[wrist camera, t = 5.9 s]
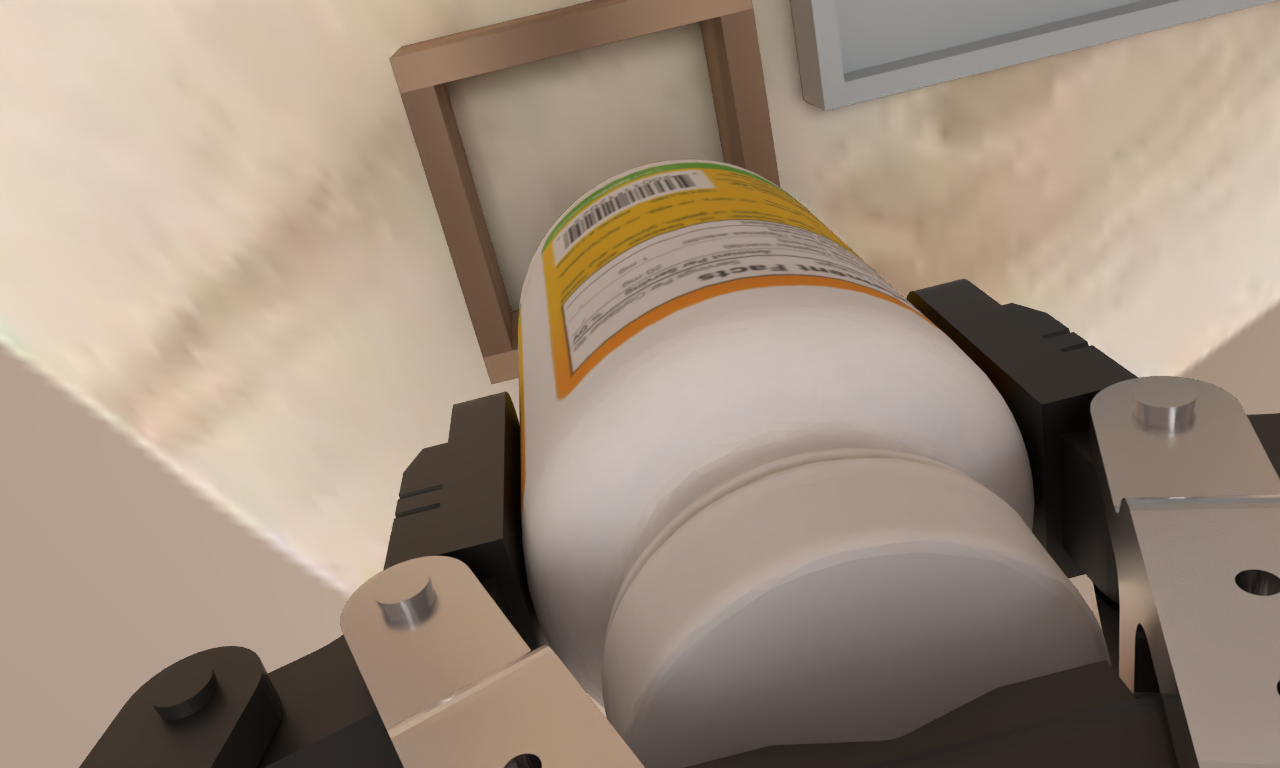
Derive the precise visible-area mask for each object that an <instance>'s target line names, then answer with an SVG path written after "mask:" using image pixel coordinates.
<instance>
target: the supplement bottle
mask: <svg viewBox="0 0 1280 768" xmlns="http://www.w3.org/2000/svg"><path fill="white" fill-rule="evenodd" d="M518 353H519V406H520V462H521V526H522V543H523V551H524V560H525V568H526V575H527V581H528V587H529V593H530V596H531V599H532V602H533V606H534V609H535V612H536V615H537V618H538V621H539V623H540V625H541V628H542V630H543V633H544V635H545V637H546V639H547V641H548V643H549V644H550V646H551V648H552V649H553V651H554V653H555V654H556V655H557V656H558V657H559V659H560V660H561V661H562V663H563V664H564V665H565V666H566V668H567V669H568V670H569V671H570V673H571V674H572V675H573V676H574V678H575V679H576V680H577V682H578V683H579V684H580V685H581V687H582V688H583V689H584V690H585V692H586V693H588V694H589V695H590V696H591V697H592V698H593V699H595V700H596V701H597V702H598V703H599V704H600V705H601V706H603V707H604V708H605V712H606V716H607V720H608V721H609V722H610V724H611V725H612V726H613V727H614V729H615V730H616V731H617V732H618V734H619V735H620V736H621V737H622V739H623V740H624V741H625V743H626V744H627V745H628V746H629V748H630V749H631V750H632V751H633V753H634V754H635V755H636V757H637V758H638V759H639V760H640V762H641V763H642V764H643V765H644V767H645V768H684V767H688V766H692V765H696V764H700V763H704V762H707V761H711V760H715V759H719V758H723V757H727V756H731V755H735V754H739V753H743V752H747V751H751V750H755V749H758V748H762V747H766V746H770V745H792V744H815V743H839V742H862V741H883V740H891V739H895V738H899V737H901V736H904V735H906V734H908V733H910V732H912V731H914V730H916V729H918V728H920V727H921V726H923V725H925V724H927V723H929V722H931V721H933V720H935V719H937V718H939V717H941V716H943V715H945V714H947V713H949V712H951V711H953V710H954V709H956V708H958V707H960V706H962V705H964V704H966V703H968V702H970V701H972V700H974V699H976V698H978V697H980V696H982V695H984V694H986V693H987V692H989V691H991V690H993V689H995V688H998V687H1001V686H1005V685H1009V684H1013V683H1017V682H1021V681H1025V680H1029V679H1033V678H1037V677H1041V676H1045V675H1049V674H1052V673H1056V672H1060V671H1064V670H1068V669H1072V668H1076V667H1080V666H1084V665H1088V664H1092V663H1096V662H1099V661H1103V660H1106V661H1107V662H1108V664H1109V665H1110V666H1111V662H1110V657H1109V653H1108V649H1107V645H1106V642H1105V639H1104V635H1103V632H1102V630H1101V628H1100V626H1099V624H1098V621H1097V619H1096V617H1095V615H1094V614H1093V612H1092V611H1091V609H1090V608H1089V606H1088V605H1087V603H1086V602H1085V600H1084V599H1083V597H1082V596H1081V594H1080V593H1079V591H1078V590H1077V589H1076V587H1075V586H1074V585H1073V584H1072V582H1071V581H1070V580H1069V579H1068V577H1067V576H1066V575H1065V574H1064V572H1063V571H1062V570H1061V569H1060V567H1059V566H1058V565H1057V564H1056V563H1055V561H1054V560H1053V559H1052V558H1051V556H1050V555H1049V554H1048V553H1047V551H1046V550H1045V549H1044V547H1043V546H1042V545H1041V543H1040V542H1039V541H1038V539H1037V538H1036V537H1035V535H1034V534H1033V533H1032V528H1033V516H1034V489H1033V478H1032V473H1031V467H1030V462H1029V458H1028V454H1027V450H1026V447H1025V444H1024V441H1023V438H1022V435H1021V432H1020V430H1019V427H1018V425H1017V423H1016V421H1015V419H1014V417H1013V415H1012V413H1011V411H1010V409H1009V408H1008V406H1007V404H1006V402H1005V401H1004V399H1003V397H1002V396H1001V394H1000V393H999V392H998V390H997V389H996V388H995V386H994V385H993V383H992V382H991V381H990V379H989V378H988V377H987V375H986V374H985V373H984V372H983V371H982V370H981V369H980V368H979V367H978V366H977V365H976V364H975V363H974V362H973V361H972V360H971V359H970V358H969V357H968V356H967V355H966V354H965V353H964V352H963V351H962V350H961V349H960V348H959V347H958V346H957V345H956V344H955V343H954V342H953V341H952V340H951V339H950V338H949V337H948V336H947V335H946V334H945V333H944V332H943V331H941V330H940V329H939V328H938V327H937V326H935V325H934V324H933V323H932V322H931V321H930V320H929V319H928V318H926V317H925V316H924V315H923V314H922V313H921V312H920V311H919V310H918V309H917V308H916V307H914V306H913V305H912V304H911V303H909V302H908V301H907V300H906V299H905V298H904V297H903V296H902V295H900V294H899V293H898V292H897V291H896V290H895V289H894V288H893V287H892V286H891V285H890V284H888V283H887V282H886V281H885V280H884V279H883V278H882V277H880V276H879V275H878V274H877V273H876V272H875V271H874V270H873V269H872V268H871V267H870V266H869V265H868V264H866V263H865V262H864V261H863V260H862V259H861V258H860V257H859V256H858V255H857V254H856V253H854V252H853V251H852V250H851V249H850V248H849V247H848V246H847V245H846V244H845V243H843V242H842V241H841V240H840V239H839V238H838V237H837V236H836V235H835V234H834V233H833V232H831V231H830V230H829V229H828V228H827V227H826V226H825V225H824V224H823V223H822V222H820V221H819V220H818V219H817V218H816V217H815V216H814V215H813V214H812V213H811V212H810V211H809V210H808V209H807V208H805V207H804V206H803V205H802V204H800V203H799V202H798V201H797V200H796V199H794V198H793V197H792V196H790V195H789V194H788V193H786V192H785V191H784V190H782V189H781V188H779V187H778V186H777V185H775V184H774V183H772V182H770V181H769V180H767V179H765V178H763V177H762V176H760V175H758V174H756V173H754V172H751V171H749V170H746V169H744V168H741V167H738V166H735V165H731V164H727V163H723V162H717V161H711V160H697V159H681V160H669V161H662V162H656V163H651V164H647V165H643V166H639V167H636V168H633V169H630V170H627V171H625V172H622V173H620V174H618V175H615V176H613V177H611V178H609V179H607V180H606V181H604V182H602V183H600V184H599V185H597V186H595V187H594V188H592V189H591V190H589V191H588V192H587V193H585V194H584V195H583V196H581V197H580V198H579V199H577V200H576V201H575V202H574V203H573V204H572V205H571V206H570V207H569V208H568V209H567V210H566V211H565V212H564V213H563V214H562V215H561V216H560V217H559V218H558V219H557V221H556V222H555V223H554V224H553V225H552V227H551V228H550V229H549V231H548V232H547V234H546V235H545V237H544V238H543V240H542V242H541V243H540V245H539V247H538V249H537V251H536V252H535V254H534V256H533V258H532V261H531V263H530V266H529V269H528V271H527V274H526V277H525V280H524V284H523V287H522V293H521V299H520V306H519V317H518Z"/></svg>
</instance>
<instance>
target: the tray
mask: <svg viewBox="0 0 1280 768" xmlns="http://www.w3.org/2000/svg"><path fill="white" fill-rule="evenodd" d="M1274 1H1278V0H790V2H791V10H792V17H793V25H794V32H795V39H796V47H797V54H798V62H799V69H800V76H801V84H802V91H803V99H804V101H806V102H808V103H810V104H812V105H814V106H816V107H818V108H820V109H822V110H824V111H828V110H832V109H836V108H840V107H844V106H848V105H853V104H857V103H861V102H865V101H869V100H873V99H877V98H881V97H885V96H889V95H893V94H897V93H902V92H906V91H910V90H914V89H918V88H922V87H926V86H930V85H934V84H938V83H942V82H947V81H951V80H955V79H959V78H963V77H967V76H971V75H975V74H979V73H983V72H987V71H992V70H996V69H1000V68H1004V67H1008V66H1012V65H1016V64H1020V63H1024V62H1028V61H1032V60H1036V59H1041V58H1045V57H1049V56H1053V55H1057V54H1061V53H1065V52H1069V51H1073V50H1077V49H1081V48H1086V47H1090V46H1094V45H1098V44H1102V43H1106V42H1110V41H1114V40H1118V39H1122V38H1126V37H1131V36H1135V35H1139V34H1143V33H1147V32H1151V31H1155V30H1159V29H1163V28H1167V27H1171V26H1175V25H1180V24H1184V23H1188V22H1192V21H1196V20H1200V19H1204V18H1208V17H1212V16H1216V15H1220V14H1225V13H1229V12H1233V11H1237V10H1241V9H1245V8H1249V7H1253V6H1257V5H1261V4H1265V3H1269V2H1274Z"/></svg>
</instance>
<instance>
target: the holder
mask: <svg viewBox="0 0 1280 768" xmlns="http://www.w3.org/2000/svg"><path fill="white" fill-rule="evenodd" d="M699 21H700V25H701V31H702V37H703V42H704V48H705V54H706V59H707V65H708V71H709V77H710V82H711V88H712V94H713V99H714V105H715V111H716V117H717V122H718V128H719V134H720V139H721V145H722V151H723V157H724V162H725V163H727V164H731V165H735V166H738V167H741V168H744V169H746V170H749V171H751V172H754V173H756V174H758V175H760V176H762V177H763V178H765V179H767V180H769V181H770V182H772V183H774V184H775V185H777V186H778V187H779V188H780V183H779V176H778V170H777V163H776V157H775V150H774V143H773V137H772V130H771V123H770V117H769V110H768V104H767V97H766V90H765V84H764V77H763V71H762V64H761V57H760V51H759V44H758V38H757V31H756V24H755V18H754V11H753V4H752V0H594V1H590V2H585V3H581V4H577V5H573V6H569V7H565V8H560V9H556V10H552V11H548V12H544V13H540V14H535V15H531V16H527V17H523V18H519V19H515V20H510V21H506V22H502V23H498V24H494V25H490V26H485V27H481V28H477V29H473V30H469V31H465V32H460V33H456V34H452V35H448V36H444V37H440V38H435V39H431V40H427V41H423V42H419V43H415V44H410V45H406V46H402V47H401V48H400V49H399V50H398V51H397V52H396V53H395V54H394V55H393V56H392V57H391V58H390V62H391V65H392V69H393V72H394V75H395V78H396V81H397V85H398V88H399V91H400V94H401V97H402V101H403V104H404V107H405V110H406V113H407V116H408V120H409V123H410V126H411V129H412V132H413V136H414V139H415V142H416V145H417V148H418V152H419V155H420V158H421V161H422V164H423V168H424V171H425V174H426V177H427V180H428V183H429V187H430V190H431V193H432V196H433V199H434V203H435V206H436V209H437V212H438V215H439V219H440V222H441V225H442V228H443V231H444V234H445V238H446V241H447V244H448V247H449V250H450V254H451V257H452V260H453V263H454V266H455V270H456V273H457V276H458V279H459V282H460V286H461V289H462V292H463V295H464V298H465V301H466V305H467V308H468V311H469V314H470V317H471V321H472V324H473V327H474V330H475V333H476V337H477V340H478V343H479V346H480V349H481V352H482V356H483V359H484V362H485V365H486V368H487V372H488V375H489V378H490V381H491V384H495V383H499V382H503V381H507V380H511V379H515V378H519V353H518V317H519V310H518V311H514V312H511V308H510V305H509V301H508V298H507V295H506V291H505V288H504V284H503V281H502V278H501V274H500V271H499V267H498V264H497V260H496V257H495V254H494V250H493V247H492V243H491V240H490V237H489V233H488V230H487V226H486V223H485V219H484V216H483V213H482V209H481V206H480V202H479V199H478V195H477V192H476V189H475V185H474V182H473V178H472V175H471V172H470V168H469V165H468V161H467V158H466V154H465V151H464V148H463V144H462V141H461V137H460V134H459V131H458V127H457V124H456V120H455V117H454V113H453V110H452V107H451V103H450V100H449V96H448V93H447V90H446V86H445V83H446V82H450V81H454V80H458V79H463V78H467V77H471V76H475V75H479V74H483V73H487V72H492V71H496V70H500V69H504V68H508V67H512V66H516V65H521V64H525V63H529V62H533V61H537V60H541V59H545V58H550V57H554V56H558V55H562V54H566V53H570V52H574V51H579V50H583V49H587V48H591V47H595V46H599V45H603V44H608V43H612V42H616V41H620V40H624V39H628V38H632V37H637V36H641V35H645V34H649V33H653V32H657V31H662V30H666V29H670V28H674V27H678V26H682V25H686V24H691V23H695V22H699Z"/></svg>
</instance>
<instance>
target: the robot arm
mask: <svg viewBox="0 0 1280 768" xmlns="http://www.w3.org/2000/svg"><path fill="white" fill-rule="evenodd" d="M906 300H907V301H908V302H909V303H911V304H912V305H913V306H914V307H916V308H917V309H918V310H919V311H920V312H921V313H922V314H923V315H924V316H925V317H926V318H928V319H929V320H930V321H931V322H932V323H933V324H934V325H935V326H937V327H938V328H939V329H940V330H941V331H943V332H944V333H945V334H946V335H947V336H948V337H949V338H950V339H951V340H952V341H953V342H954V343H955V344H956V345H957V346H958V347H959V348H960V349H961V350H962V351H963V352H964V353H965V354H966V355H967V356H968V357H969V358H970V359H971V360H972V361H973V362H974V363H975V364H976V365H977V366H978V367H979V368H980V369H981V370H982V371H983V372H984V373H985V374H986V375H987V377H988V378H989V379H990V381H991V382H992V383H993V385H994V386H995V388H996V389H997V390H998V392H999V393H1000V394H1001V396H1002V397H1003V399H1004V401H1005V402H1006V404H1007V406H1008V408H1009V409H1010V411H1011V413H1012V415H1013V417H1014V419H1015V421H1016V423H1017V425H1018V427H1019V430H1020V432H1021V435H1022V438H1023V441H1024V444H1025V447H1026V450H1027V454H1028V458H1029V462H1030V467H1031V473H1032V478H1033V489H1034V516H1033V528H1032V533H1033V534H1034V535H1035V537H1036V538H1037V539H1038V541H1039V542H1040V543H1041V545H1042V546H1043V547H1044V549H1045V550H1046V551H1047V553H1048V554H1049V555H1050V556H1051V558H1052V559H1053V560H1054V561H1055V563H1056V564H1057V565H1058V566H1059V567H1060V569H1061V570H1062V571H1063V572H1064V574H1065V575H1066V576H1067V577H1068V578H1072V577H1076V576H1080V575H1084V574H1086V575H1087V576H1088V577H1089V578H1090V579H1091V581H1092V612H1093V614H1094V615H1095V617H1096V619H1097V621H1098V624H1099V626H1100V628H1101V630H1102V632H1103V635H1104V639H1105V642H1106V645H1107V649H1108V653H1109V657H1110V662H1111V666H1110V665H1109V664H1108V662H1107V661H1106V660H1103V661H1099V662H1096V663H1092V664H1088V665H1084V666H1080V667H1076V668H1072V669H1068V670H1064V671H1060V672H1056V673H1052V674H1049V675H1045V676H1041V677H1037V678H1033V679H1029V680H1025V681H1021V682H1017V683H1013V684H1009V685H1005V686H1001V687H998V688H995V689H993V690H991V691H989V692H987V693H986V694H984V695H982V696H980V697H978V698H976V699H974V700H972V701H970V702H968V703H966V704H964V705H962V706H960V707H958V708H956V709H954V710H953V711H951V712H949V713H947V714H945V715H943V716H941V717H939V718H937V719H935V720H933V721H931V722H929V723H927V724H925V725H923V726H921V727H920V728H918V729H916V730H914V731H912V732H910V733H908V734H906V735H904V736H901V737H899V738H895V739H891V740H883V741H862V742H839V743H815V744H792V745H770V746H766V747H762V748H758V749H755V750H751V751H747V752H743V753H739V754H735V755H731V756H727V757H723V758H719V759H715V760H711V761H707V762H704V763H700V764H696V765H692V766H688V767H684V768H1280V413H1278V414H1260V415H1246V413H1245V411H1244V409H1243V407H1242V405H1241V404H1240V402H1239V401H1238V400H1237V398H1235V397H1234V396H1233V395H1232V394H1231V393H1229V392H1227V391H1226V390H1224V389H1222V388H1220V387H1217V386H1215V385H1213V384H1210V383H1206V382H1203V381H1199V380H1194V379H1189V378H1182V377H1171V376H1151V377H1141V378H1138V377H1137V376H1135V375H1134V374H1132V373H1131V372H1129V371H1128V370H1127V369H1125V368H1124V367H1122V366H1121V365H1120V364H1118V363H1117V362H1115V361H1114V360H1112V359H1111V358H1110V357H1108V356H1107V355H1105V354H1104V353H1103V352H1101V351H1100V350H1098V349H1097V348H1095V347H1094V346H1093V345H1092V346H1088V342H1087V341H1086V340H1084V339H1083V338H1081V337H1080V336H1078V335H1077V334H1076V333H1074V332H1072V333H1070V331H1069V328H1067V327H1066V326H1064V325H1063V324H1061V323H1060V322H1059V321H1057V320H1056V319H1054V318H1053V317H1052V316H1050V315H1049V314H1047V313H1045V312H1041V311H1038V310H1034V309H1031V308H1028V307H1024V306H1021V305H1017V304H1014V303H1010V304H1006V305H1002V306H1001V305H1000V304H999V303H997V302H996V301H995V300H993V299H992V298H991V297H989V296H988V295H987V294H985V293H984V292H983V291H981V290H980V289H979V288H977V287H976V286H975V285H974V284H972V283H971V282H970V281H968V280H966V279H961V280H957V281H953V282H948V283H944V284H940V285H936V286H932V287H928V288H924V289H920V290H916V291H912V292H910V293H909V294H908V296H907V299H906ZM399 497H400V499H399V500H398V502H397V507H396V512H395V515H396V518H395V519H394V522H393V527H392V531H391V536H390V541H389V546H388V551H387V556H386V561H385V566H384V570H383V571H382V572H380V573H378V574H377V575H375V576H374V577H372V578H371V579H369V580H368V581H367V582H365V583H364V584H363V585H362V586H360V587H359V588H358V589H357V590H356V591H355V592H354V593H353V595H352V596H351V597H350V598H349V600H348V601H347V603H346V604H345V606H344V608H343V610H342V614H341V617H340V626H341V629H342V632H343V635H342V636H341V637H339V638H338V639H336V640H335V641H333V642H331V643H330V644H328V645H326V646H325V647H323V648H321V649H319V650H317V651H315V652H313V653H311V654H309V655H306V656H305V657H302V658H300V659H298V660H296V661H294V662H292V663H290V664H287V665H285V666H283V667H281V668H279V669H277V670H275V671H272V672H270V673H267V672H266V670H265V668H264V666H263V664H262V662H261V660H260V658H259V657H258V655H257V654H256V653H255V652H253V651H251V650H250V649H247V648H244V647H238V646H226V647H218V648H212V649H209V650H205V651H202V652H198V653H196V654H193V655H191V656H188V657H186V658H184V659H182V660H180V661H178V662H176V663H174V664H172V665H171V666H169V667H167V668H165V669H164V670H162V671H161V672H160V673H158V674H157V675H155V676H154V677H152V678H151V679H150V680H149V681H148V682H146V683H145V684H144V685H143V686H141V687H140V688H139V689H138V690H137V691H136V692H135V693H134V694H133V695H132V696H131V698H130V699H129V700H128V701H127V703H126V704H125V705H124V706H123V708H122V709H121V710H120V712H119V713H118V715H117V716H116V717H115V719H114V720H113V722H112V723H111V724H110V726H109V727H108V728H107V730H106V731H105V733H104V734H103V735H102V737H101V738H100V739H99V741H98V742H97V744H96V745H95V746H94V748H93V749H92V750H91V752H90V753H89V755H88V756H87V757H86V759H85V760H84V762H83V763H82V764H81V766H80V767H79V768H645V767H644V765H643V764H642V763H641V762H640V760H639V759H638V758H637V757H636V755H635V754H634V753H633V751H632V750H631V749H630V748H629V746H628V745H627V744H626V743H625V741H624V740H623V739H622V737H621V736H620V735H619V734H618V732H617V731H616V730H615V729H614V727H613V726H612V725H611V724H610V722H609V721H608V720H607V718H606V717H605V716H604V715H603V713H602V712H601V711H600V710H599V708H598V707H597V706H596V704H595V703H594V702H593V701H592V700H591V698H590V697H589V696H588V695H587V693H586V692H585V690H584V689H583V688H582V687H581V685H580V684H579V683H578V682H577V680H576V679H575V678H574V676H573V675H572V674H571V673H570V671H569V670H568V669H567V668H566V666H565V665H564V664H563V663H562V661H561V660H560V659H559V657H558V656H557V655H556V654H555V653H554V651H553V649H552V648H551V646H550V644H549V643H548V641H547V639H546V637H545V635H544V633H543V630H542V628H541V625H540V623H539V621H538V618H537V615H536V612H535V609H534V606H533V602H532V599H531V596H530V593H529V587H528V581H527V575H526V568H525V560H524V551H523V543H522V526H521V462H520V424H519V421H518V418H517V414H516V411H515V408H514V405H513V402H512V400H511V397H510V395H509V394H508V392H503V393H499V394H495V395H490V396H486V397H482V398H478V399H474V400H470V401H466V402H462V403H458V404H454V405H453V409H452V417H451V425H450V433H449V440H448V443H444V444H440V445H436V446H432V447H428V448H424V449H423V450H422V451H421V452H420V453H419V454H418V456H417V457H416V458H415V459H414V460H413V462H412V463H411V464H410V465H409V467H408V468H407V469H406V470H405V471H404V473H403V478H402V483H401V488H400V493H399Z"/></svg>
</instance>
